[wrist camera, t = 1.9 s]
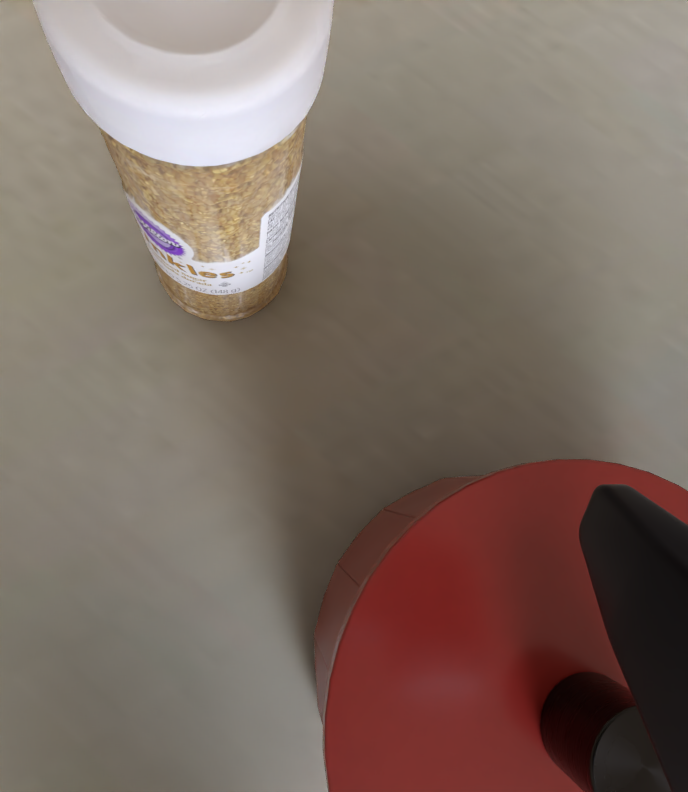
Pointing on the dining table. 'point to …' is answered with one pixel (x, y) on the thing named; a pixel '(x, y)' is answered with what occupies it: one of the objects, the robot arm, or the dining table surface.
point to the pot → (367, 568)
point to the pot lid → (490, 648)
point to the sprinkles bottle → (201, 129)
